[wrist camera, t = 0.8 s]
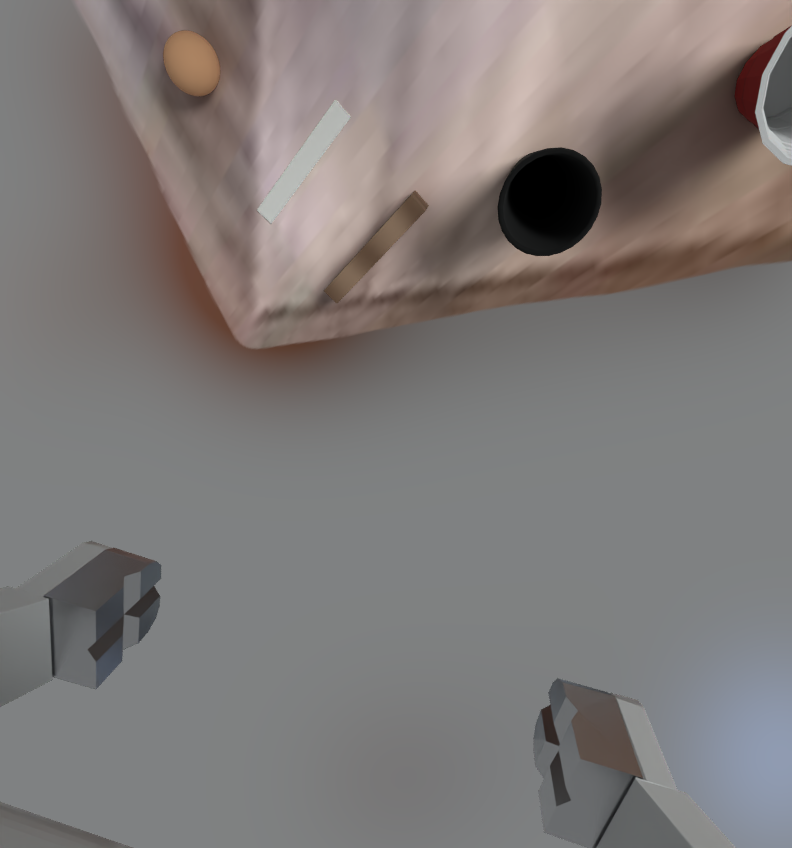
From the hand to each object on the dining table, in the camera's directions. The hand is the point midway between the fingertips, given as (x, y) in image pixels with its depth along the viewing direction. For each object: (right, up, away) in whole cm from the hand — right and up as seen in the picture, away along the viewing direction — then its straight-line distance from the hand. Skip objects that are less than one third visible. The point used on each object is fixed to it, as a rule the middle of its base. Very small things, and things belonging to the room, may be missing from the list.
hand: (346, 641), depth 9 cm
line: (-9, +31, +39) cm, 51 cm away
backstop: (-1, +24, +42) cm, 49 cm away
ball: (-18, +38, +34) cm, 53 cm away
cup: (+15, +28, +37) cm, 48 cm away
